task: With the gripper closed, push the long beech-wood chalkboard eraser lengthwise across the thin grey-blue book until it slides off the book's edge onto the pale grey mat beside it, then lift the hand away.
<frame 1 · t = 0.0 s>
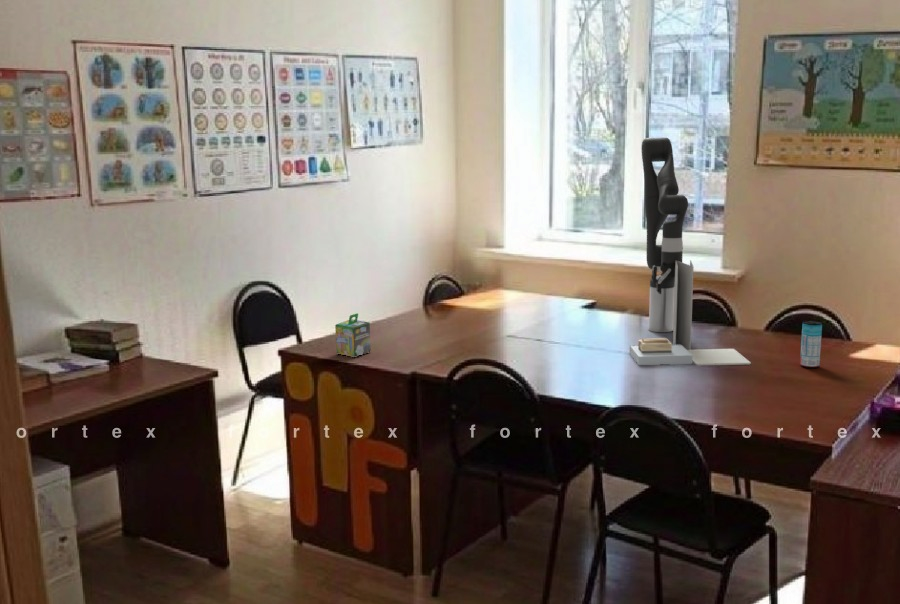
hand: (671, 293, 326), 17 cm above the table, tool pointing down, fingers open, 8 cm apart
grey panel: (681, 345, 320), on the table
mat: (715, 357, 303), on the table
book: (660, 358, 303), on the table
chalk box: (353, 354, 318), on the table
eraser: (654, 350, 302), point 3 cm above the table, touching book
beverage can: (809, 367, 290), on the table
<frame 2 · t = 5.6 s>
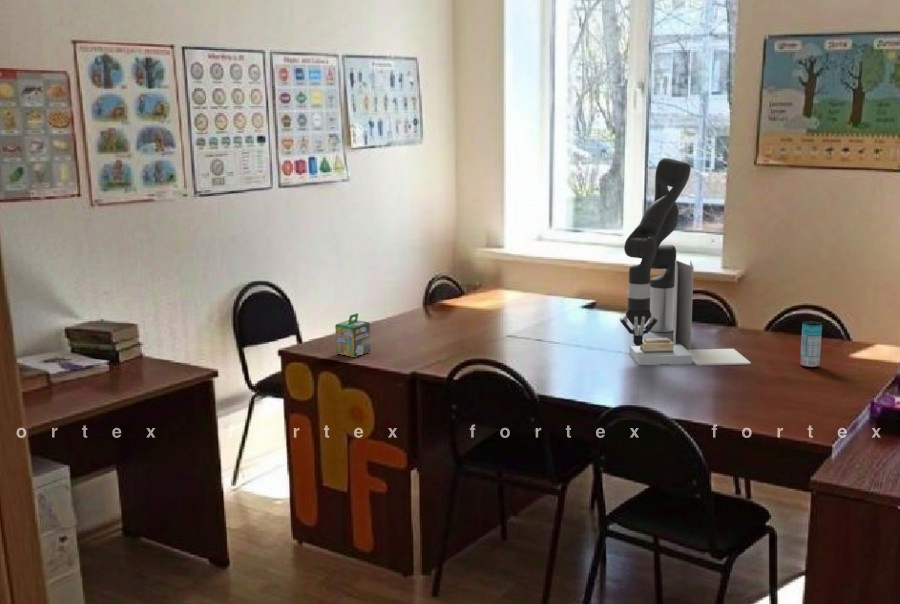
hand: (637, 345, 302), 5 cm above the table, tool pointing down, fingers closed
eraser: (656, 350, 302), point 3 cm above the table, touching gripper
everything else where it was.
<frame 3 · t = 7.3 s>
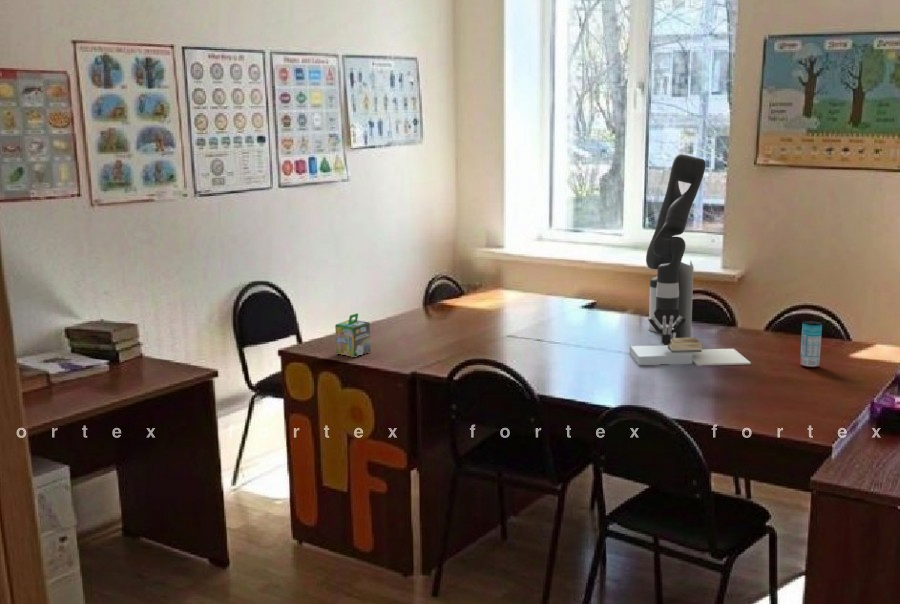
hand: (665, 344, 302), 5 cm above the table, tool pointing down, fingers closed
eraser: (684, 350, 302), point 3 cm above the table, touching gripper
everything else where it was.
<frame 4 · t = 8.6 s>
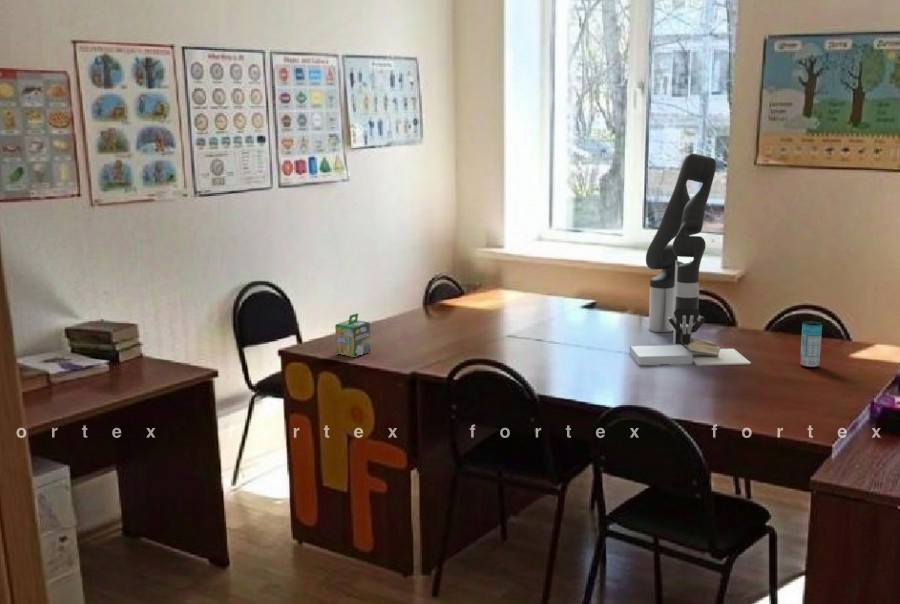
hand: (685, 344, 302), 5 cm above the table, tool pointing down, fingers closed
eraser: (700, 352, 303), point 2 cm above the table, tilted 13°
everything else where it was.
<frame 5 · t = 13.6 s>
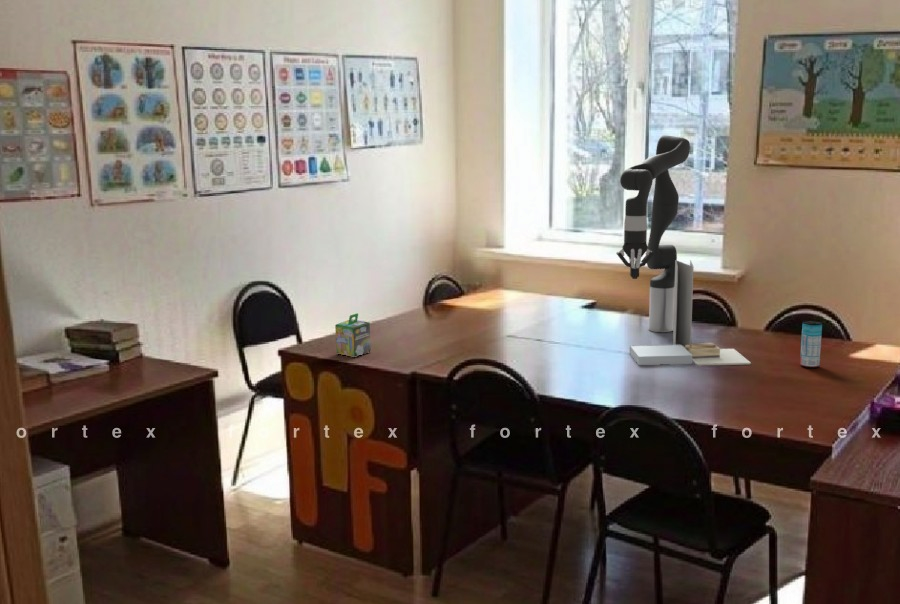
hand: (634, 278, 304), 27 cm above the table, tool pointing down, fingers closed
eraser: (702, 355, 303), point 1 cm above the table, touching mat
everything else where it was.
at the end: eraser inside the target area (4.5 cm from its centre), point 0.6 cm above the table; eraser touching mat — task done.
